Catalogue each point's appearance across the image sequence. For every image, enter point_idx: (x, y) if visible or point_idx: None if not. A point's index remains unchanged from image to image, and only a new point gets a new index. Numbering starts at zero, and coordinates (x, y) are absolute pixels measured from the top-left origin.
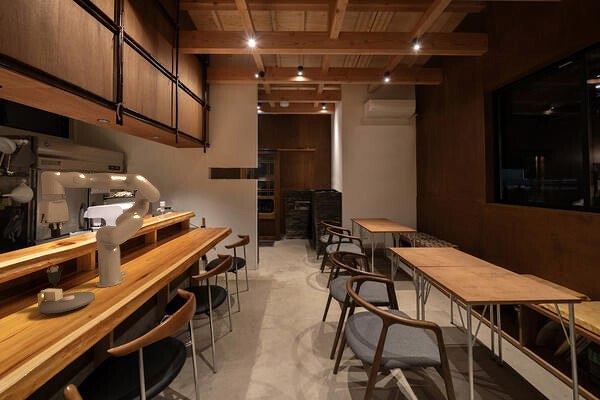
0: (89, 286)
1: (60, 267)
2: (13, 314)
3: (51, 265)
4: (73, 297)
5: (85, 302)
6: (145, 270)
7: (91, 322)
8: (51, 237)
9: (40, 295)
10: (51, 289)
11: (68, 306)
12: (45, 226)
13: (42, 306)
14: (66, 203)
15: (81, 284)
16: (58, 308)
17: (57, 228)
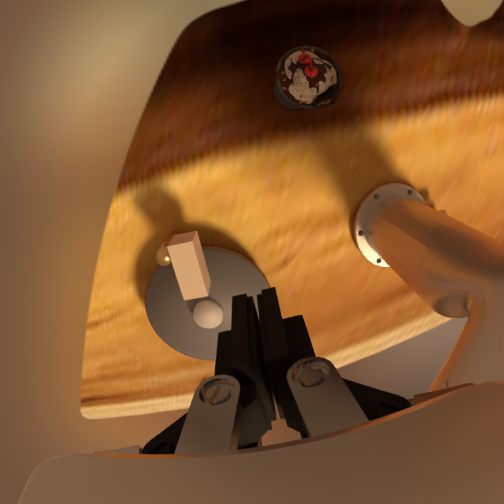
0: (354, 179)
1: (327, 101)
2: (128, 198)
3: (306, 69)
4: (215, 326)
5: None
6: (489, 225)
7: (189, 399)
8: (234, 298)
9: (160, 263)
10: (191, 264)
11: (184, 351)
12: (129, 447)
13: (153, 291)
14: None
15: (361, 127)
16: (167, 341)
17: (285, 415)
